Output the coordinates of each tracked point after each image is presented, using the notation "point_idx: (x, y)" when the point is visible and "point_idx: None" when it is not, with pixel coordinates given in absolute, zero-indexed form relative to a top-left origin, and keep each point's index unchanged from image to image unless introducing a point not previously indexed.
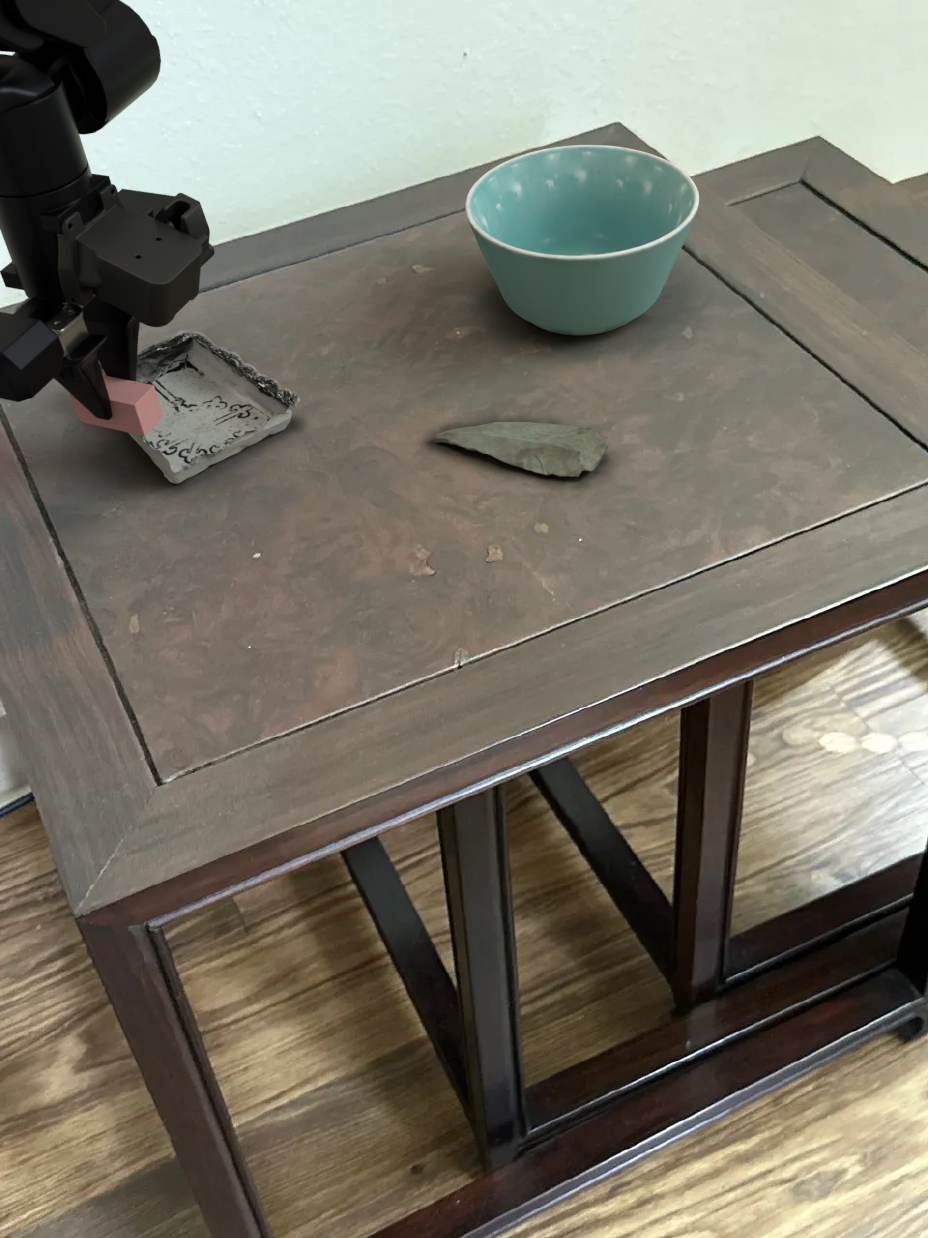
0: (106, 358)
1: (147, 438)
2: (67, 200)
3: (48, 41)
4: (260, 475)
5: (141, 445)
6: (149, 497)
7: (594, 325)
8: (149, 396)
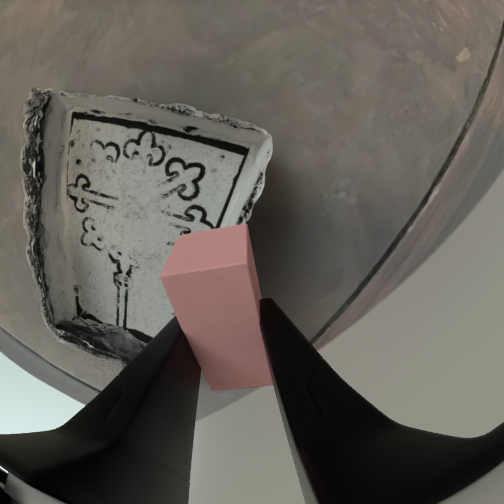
0: (188, 395)
1: None
2: None
3: None
4: (169, 51)
5: None
6: (298, 165)
7: None
8: (188, 264)
